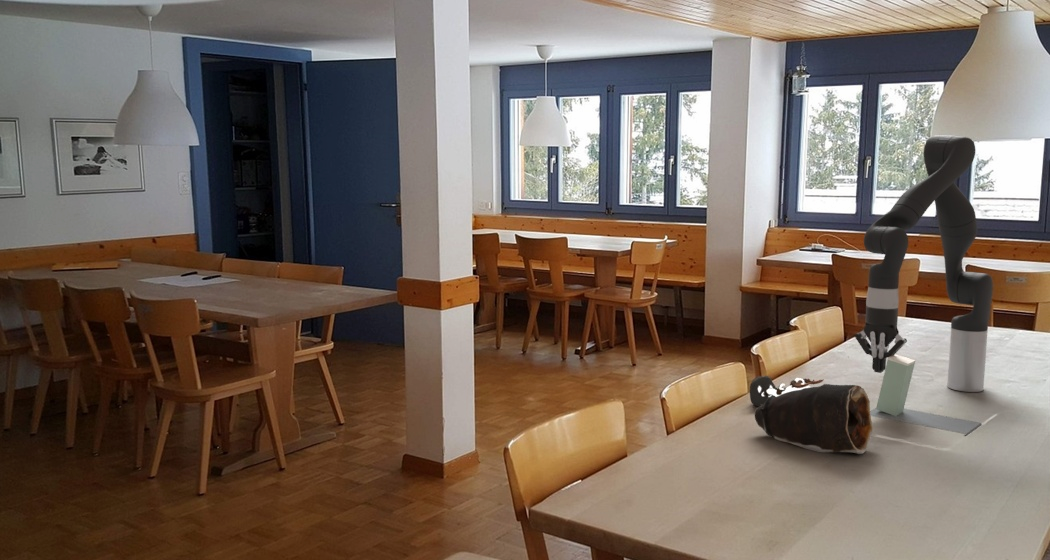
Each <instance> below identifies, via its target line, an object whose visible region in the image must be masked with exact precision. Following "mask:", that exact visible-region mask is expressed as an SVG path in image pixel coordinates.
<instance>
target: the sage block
mask: <svg viewBox="0 0 1050 560" xmlns="http://www.w3.org/2000/svg"><path fill="white" fill-rule="evenodd" d="M915 365H916V359H912V358H909V357H906V356H903V355H900V354H897V353H895V354H894V355H893V356H890V357H887V359H886V368H885V370H884V374H883V377H882V382H881V387H880V390H879V395H878V400H877V403H876V407H875V408H876V409H877V410H880V411H883V412H885V413H888V414H891V415H894V416H897V415H898V414H900V413H902V412H903V410H904V409H905V406H906V402H907V397H908V392H909V388H910V384H911V380H912V376H913V371H914V368H915Z"/></svg>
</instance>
